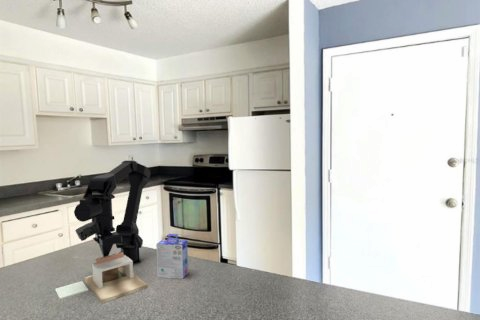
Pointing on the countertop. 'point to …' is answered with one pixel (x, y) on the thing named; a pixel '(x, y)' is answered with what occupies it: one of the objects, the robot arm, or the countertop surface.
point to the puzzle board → (116, 286)
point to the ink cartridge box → (172, 258)
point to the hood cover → (111, 266)
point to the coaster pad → (71, 290)
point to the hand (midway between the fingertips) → (105, 258)
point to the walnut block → (110, 275)
